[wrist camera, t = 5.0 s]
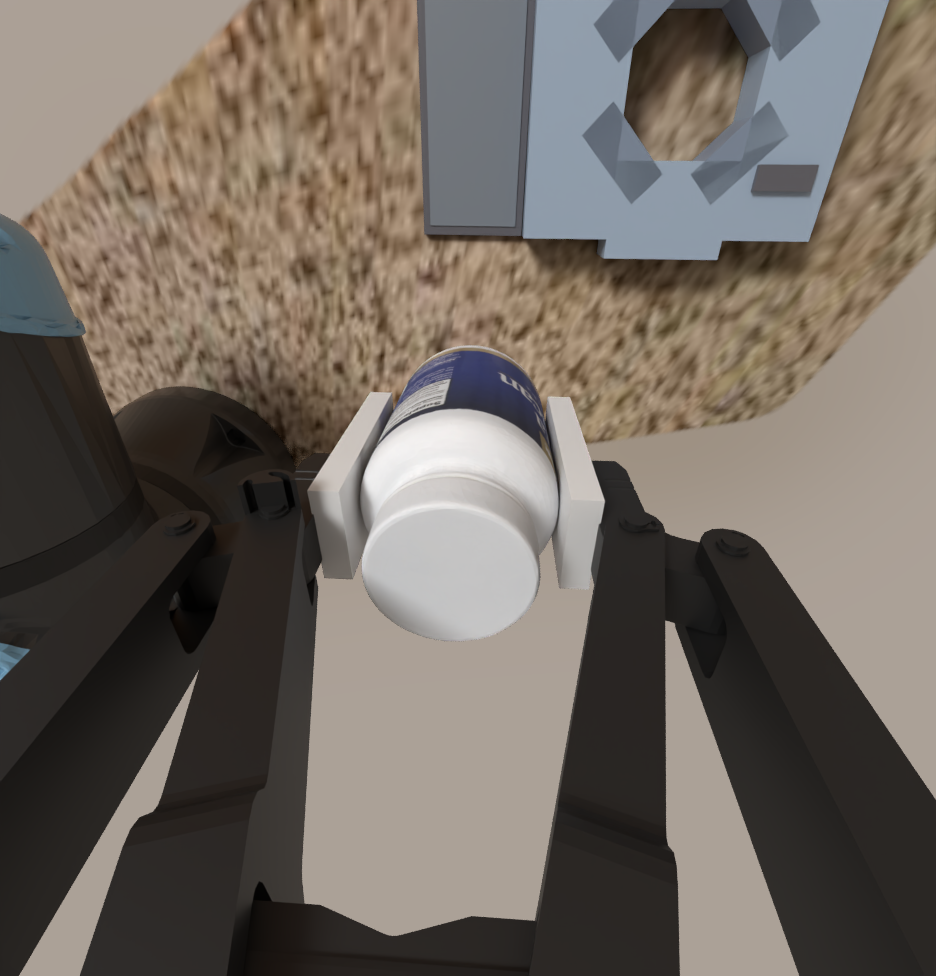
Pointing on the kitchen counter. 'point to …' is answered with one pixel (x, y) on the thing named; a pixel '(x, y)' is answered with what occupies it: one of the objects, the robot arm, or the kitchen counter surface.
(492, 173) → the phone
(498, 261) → the kitchen counter surface
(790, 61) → the dock
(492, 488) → the pill bottle
